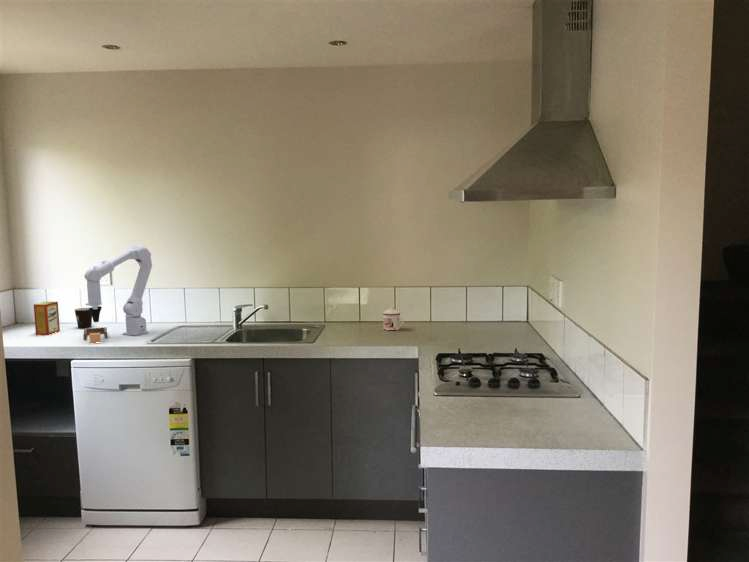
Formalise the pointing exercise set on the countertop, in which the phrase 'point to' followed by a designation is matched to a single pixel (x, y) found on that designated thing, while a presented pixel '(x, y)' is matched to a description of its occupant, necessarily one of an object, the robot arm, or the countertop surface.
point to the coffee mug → (83, 318)
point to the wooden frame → (95, 331)
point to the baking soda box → (46, 318)
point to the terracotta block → (94, 337)
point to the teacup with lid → (392, 319)
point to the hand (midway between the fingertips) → (96, 321)
